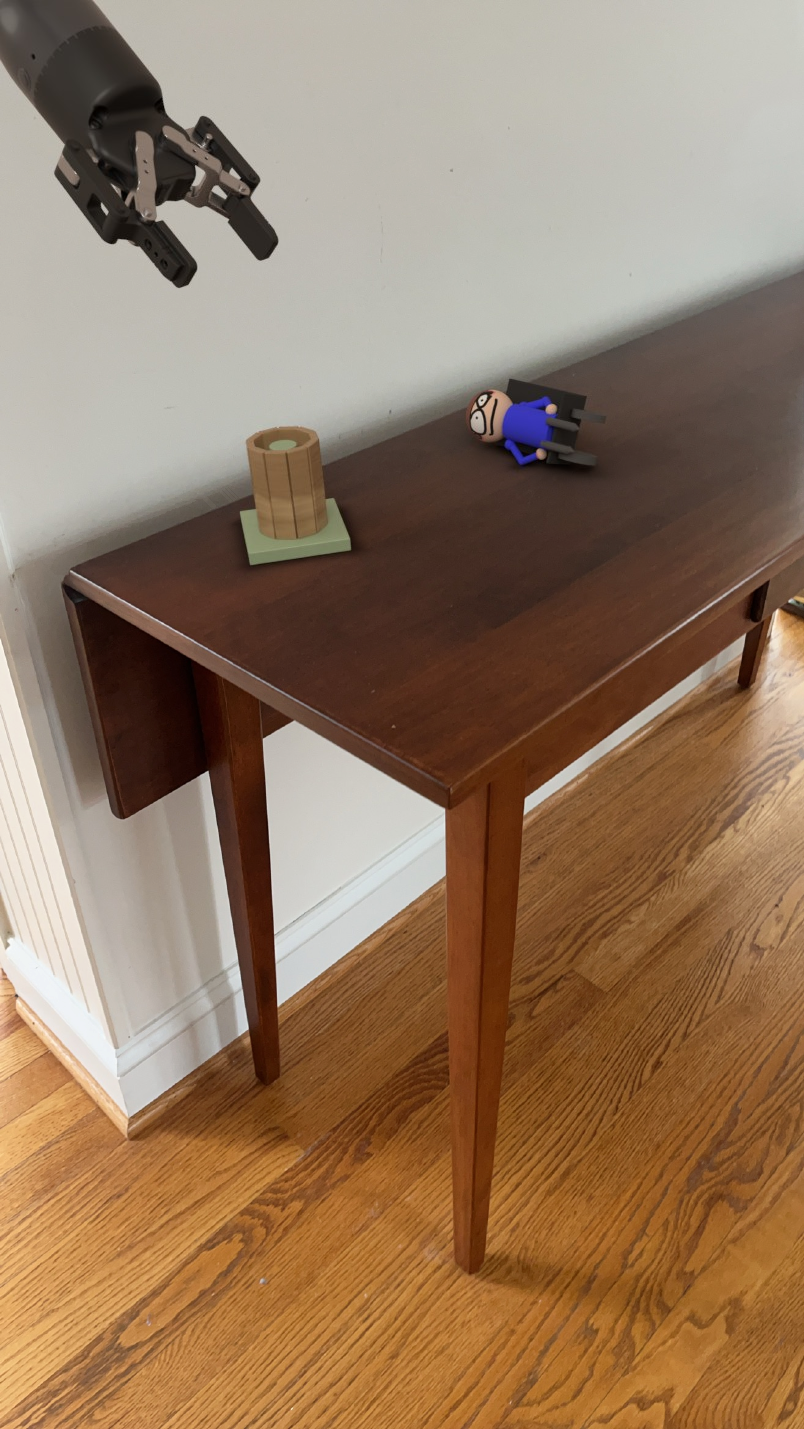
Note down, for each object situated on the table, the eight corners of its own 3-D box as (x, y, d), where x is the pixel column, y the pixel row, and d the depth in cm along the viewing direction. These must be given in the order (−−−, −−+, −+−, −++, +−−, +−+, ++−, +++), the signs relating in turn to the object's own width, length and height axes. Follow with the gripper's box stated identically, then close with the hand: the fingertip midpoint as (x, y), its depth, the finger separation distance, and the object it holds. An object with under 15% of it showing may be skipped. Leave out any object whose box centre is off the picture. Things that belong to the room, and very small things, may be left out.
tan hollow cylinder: (262, 544, 90) (249, 457, 85) (255, 514, 95) (243, 431, 90) (332, 534, 91) (323, 447, 86) (321, 505, 96) (312, 422, 91)
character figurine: (574, 491, 99) (458, 456, 108) (618, 462, 102) (503, 430, 111) (573, 414, 94) (452, 384, 103) (619, 386, 97) (499, 359, 106)
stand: (250, 565, 89) (235, 471, 84) (241, 522, 97) (226, 433, 91) (351, 550, 91) (342, 457, 85) (335, 509, 98) (326, 420, 93)
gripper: (7, 29, 61) (183, 247, 63) (171, 15, 71) (320, 205, 72) (-24, 129, 67) (138, 327, 68) (132, 104, 76) (271, 279, 78)
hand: (231, 264), depth 70 cm, fingers open, 8 cm apart
